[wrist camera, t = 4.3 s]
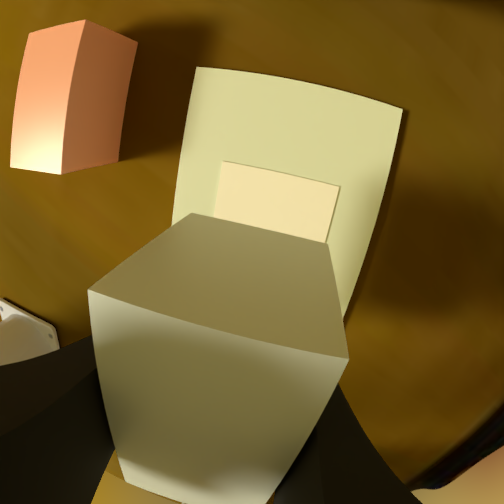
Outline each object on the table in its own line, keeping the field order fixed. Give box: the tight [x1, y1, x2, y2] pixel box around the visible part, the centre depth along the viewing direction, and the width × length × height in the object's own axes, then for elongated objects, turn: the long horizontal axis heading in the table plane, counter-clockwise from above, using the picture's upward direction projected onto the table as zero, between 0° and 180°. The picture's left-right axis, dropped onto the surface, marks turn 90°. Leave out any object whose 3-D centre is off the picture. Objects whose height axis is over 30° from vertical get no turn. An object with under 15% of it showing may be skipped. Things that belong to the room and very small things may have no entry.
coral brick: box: [10, 20, 138, 174], centre depth 13 cm, size 7×4×5 cm, turn 169°
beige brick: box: [88, 213, 349, 504], centre depth 8 cm, size 7×4×5 cm, turn 169°
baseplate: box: [172, 67, 403, 318], centre depth 16 cm, size 18×10×1 cm, turn 169°
